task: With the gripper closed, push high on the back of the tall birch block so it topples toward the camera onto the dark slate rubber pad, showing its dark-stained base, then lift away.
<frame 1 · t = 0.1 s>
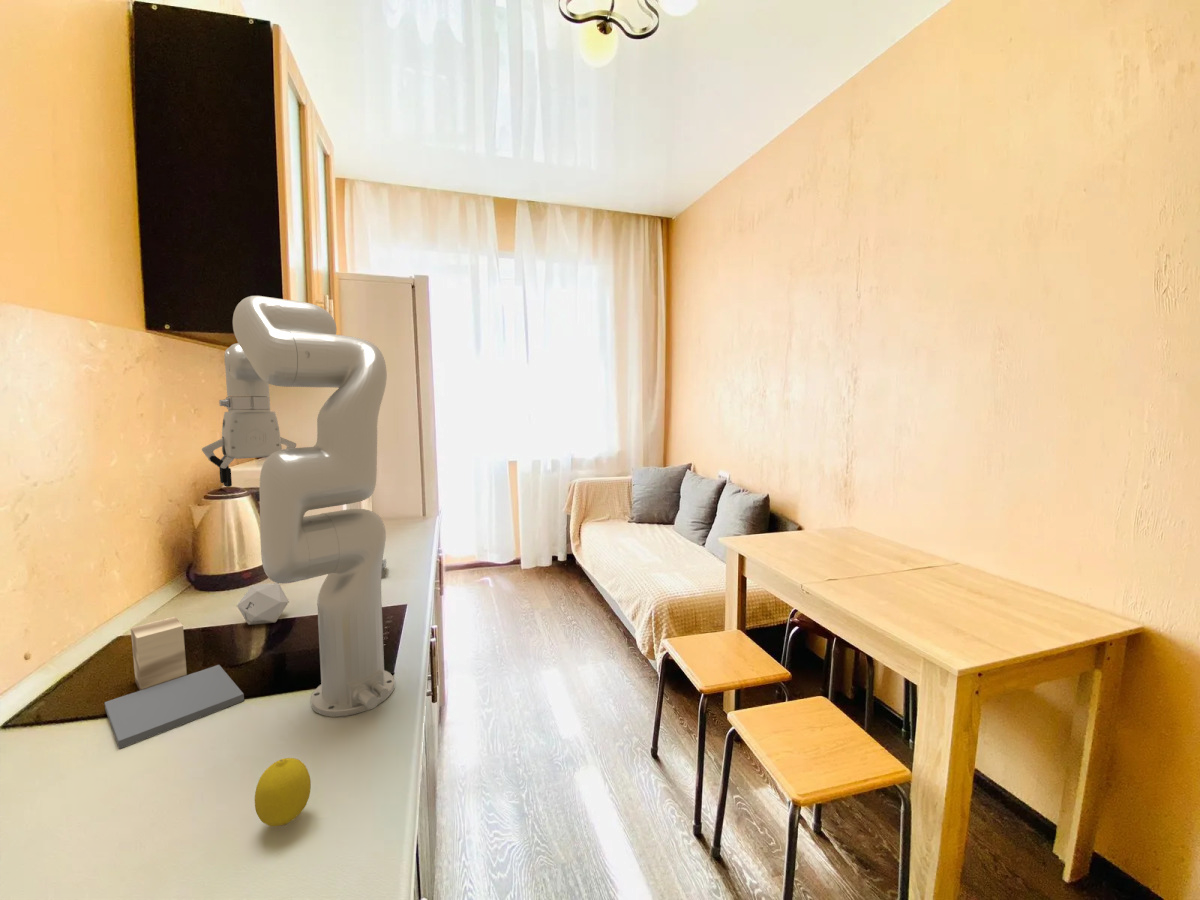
hand: (254, 483, 110), 31 cm above the worktop, fingers open, 9 cm apart
die: (264, 621, 112), on the worktop
lemon: (285, 825, 59), on the worktop
egg carton: (372, 576, 142), on the worktop
birch block: (161, 681, 88), on the worktop
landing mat: (175, 704, 81), on the worktop
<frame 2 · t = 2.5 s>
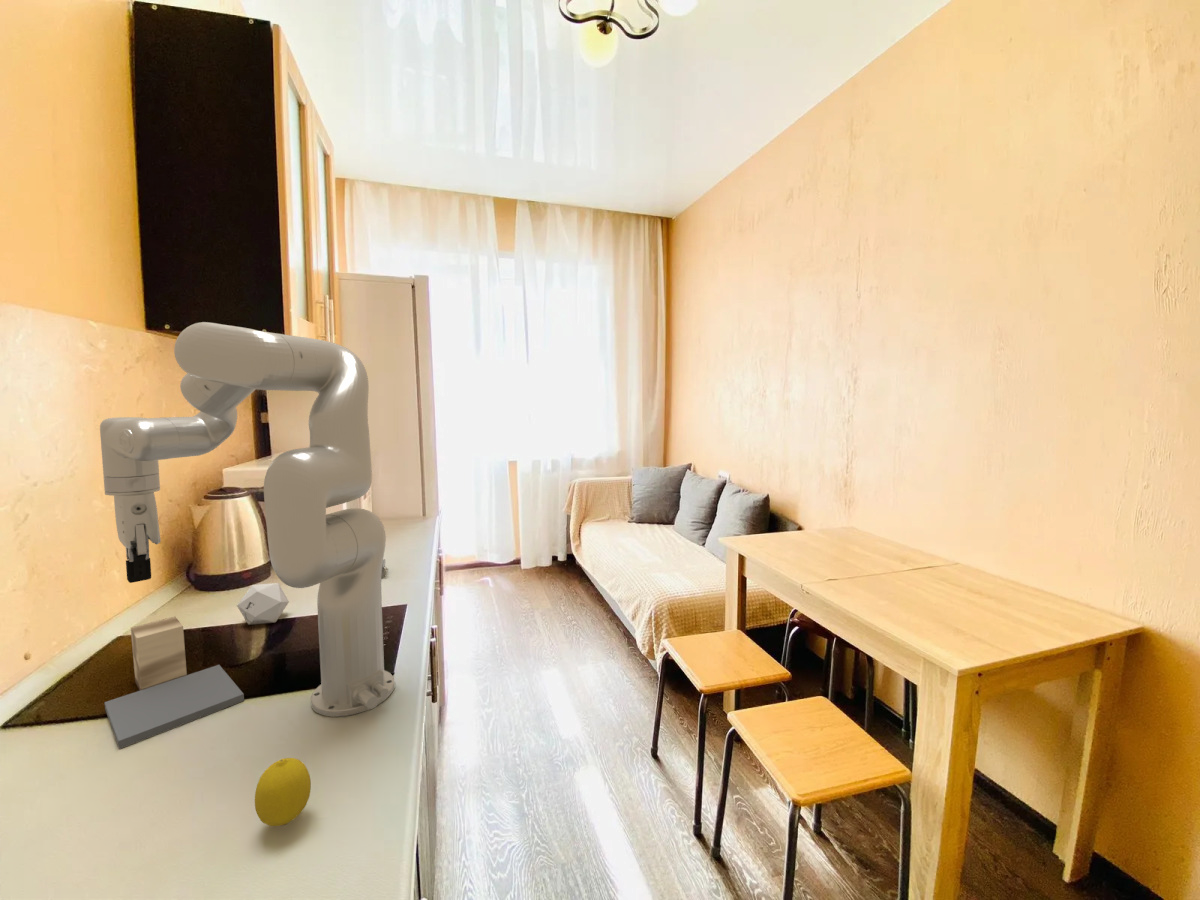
hand: (139, 579, 94), 15 cm above the worktop, fingers closed
nothing on the worktop moved.
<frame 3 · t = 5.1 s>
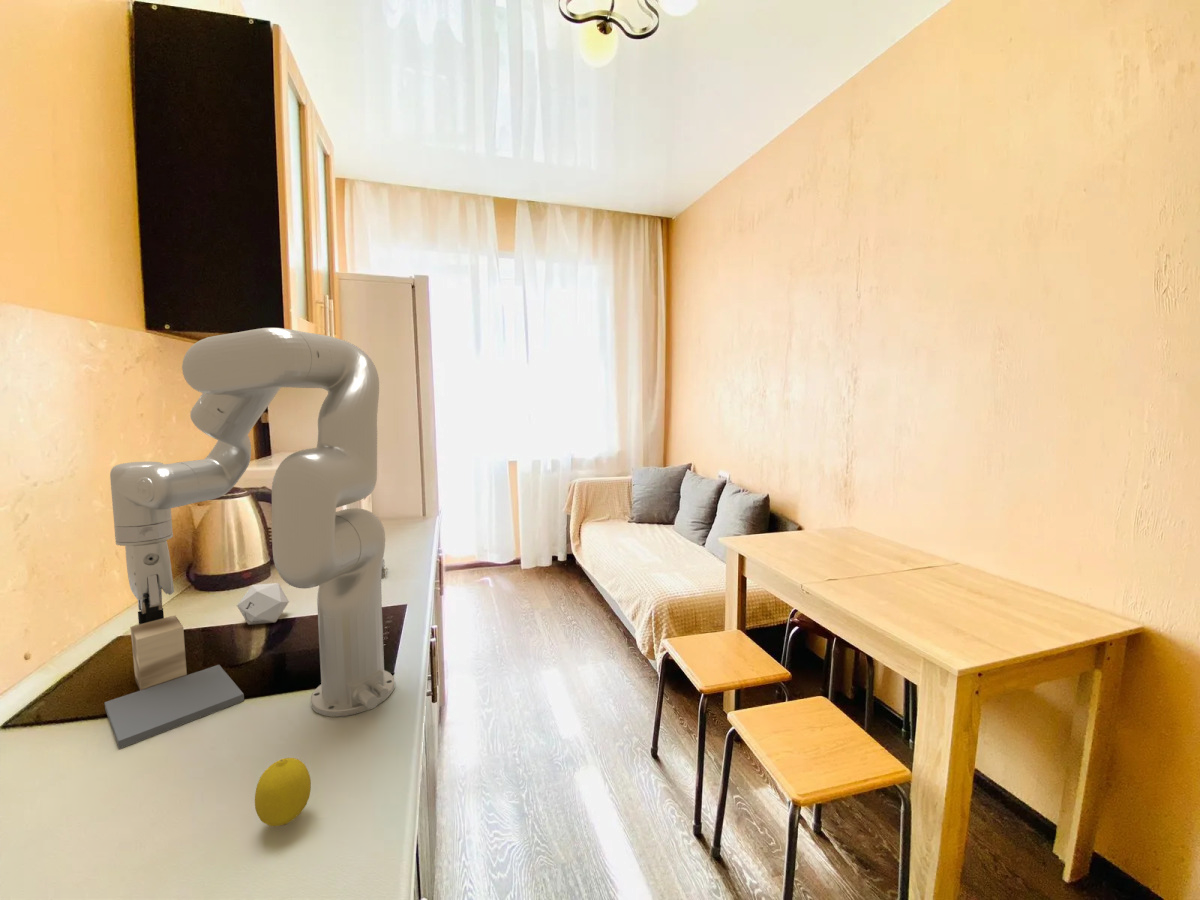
hand: (152, 631, 90), 8 cm above the worktop, fingers closed
birch block: (161, 679, 88), on the worktop, touching gripper
everything else where it was.
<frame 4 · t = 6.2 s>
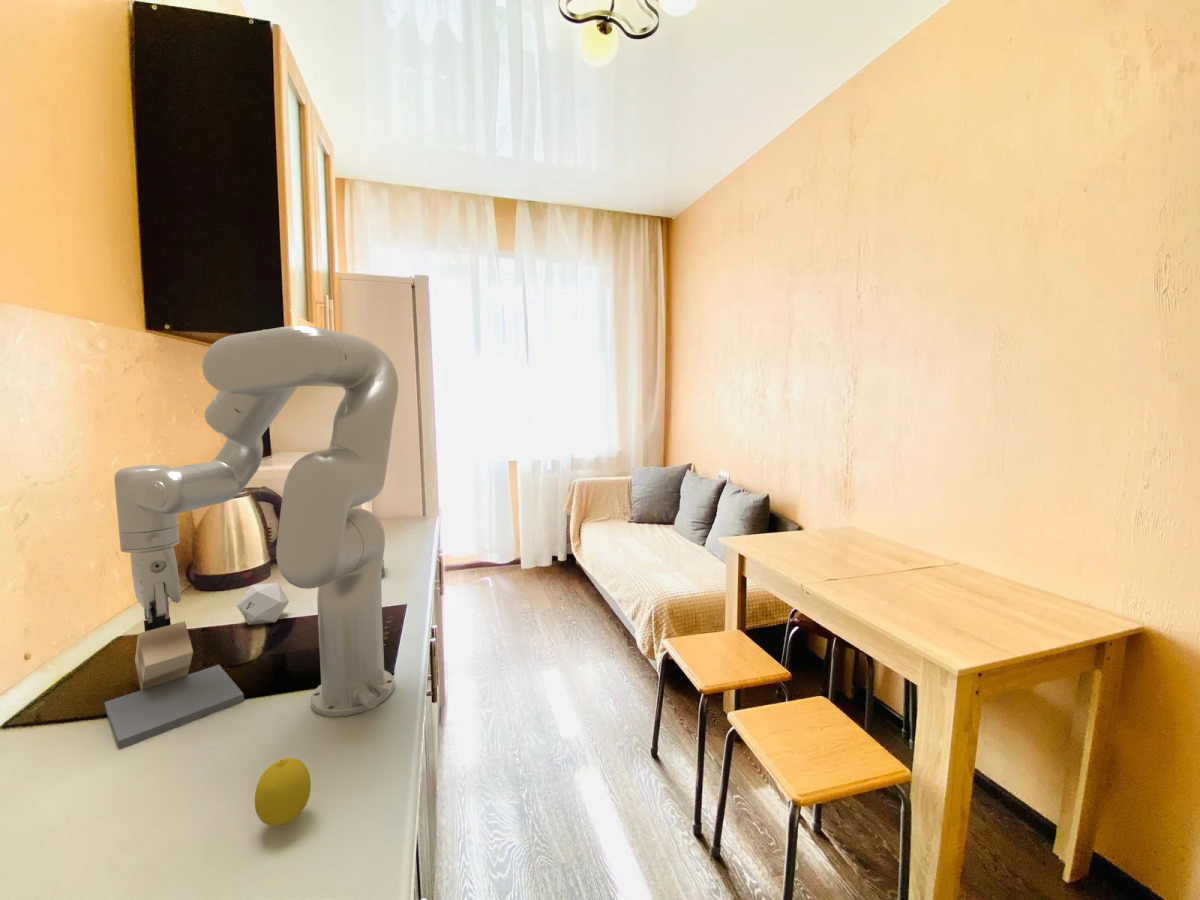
hand: (158, 640, 87), 8 cm above the worktop, fingers closed
birch block: (160, 670, 88), point 2 cm above the worktop, tilted 43°
everything else where it was.
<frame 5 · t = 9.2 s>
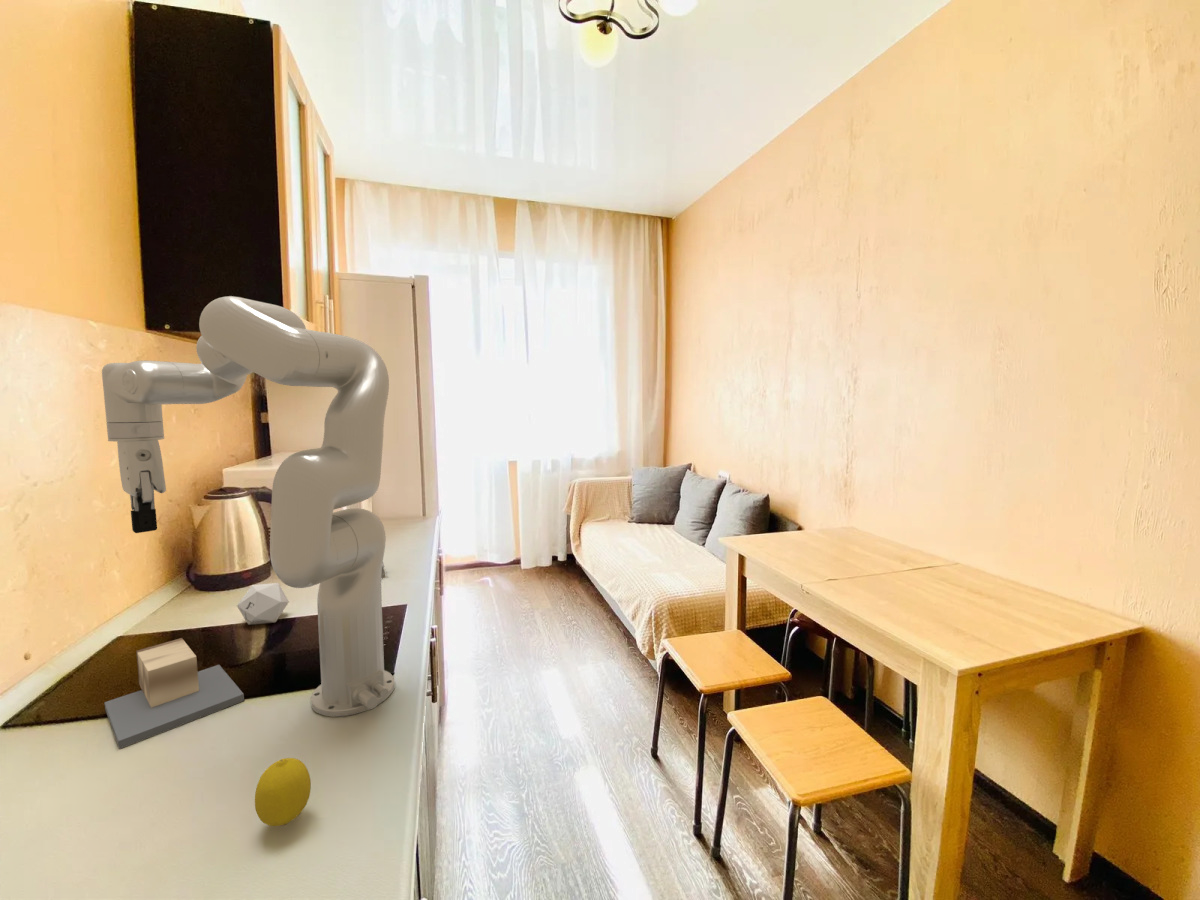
hand: (145, 530, 92), 25 cm above the worktop, fingers closed
birch block: (161, 660, 87), point 4 cm above the worktop, tilted 90°, touching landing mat
everything else where it was.
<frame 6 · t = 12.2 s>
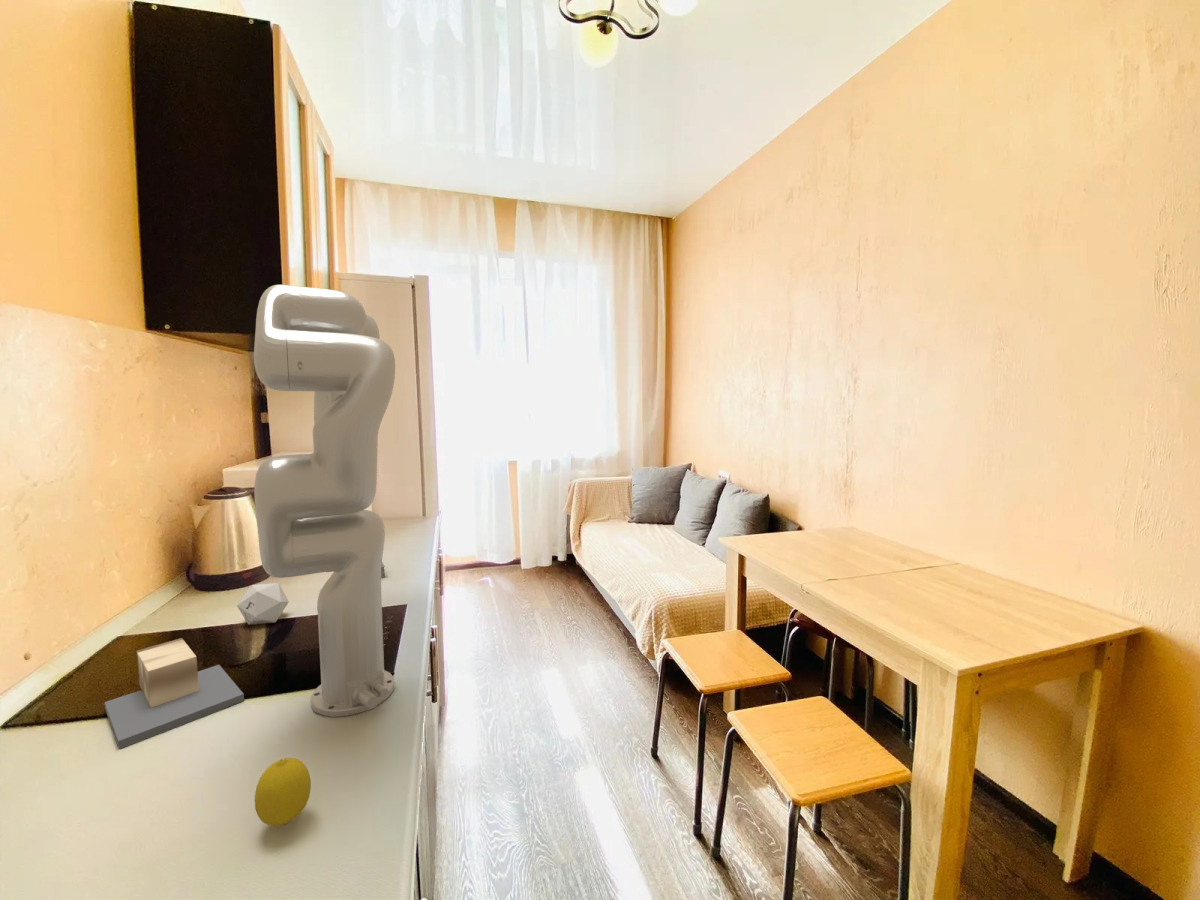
hand: (334, 465, 111), 35 cm above the worktop, fingers closed
nothing on the worktop moved.
at the end: birch block tilted 90°; birch block touching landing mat; birch block inside the target area (4.7 cm from its centre), point 4.2 cm above the worktop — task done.
